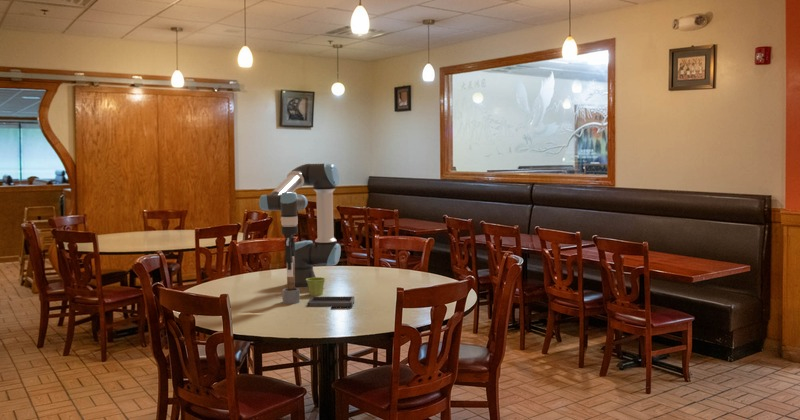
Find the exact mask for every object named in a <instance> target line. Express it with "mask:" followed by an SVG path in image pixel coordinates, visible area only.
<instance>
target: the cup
mask: <svg viewBox="0 0 800 420" xmlns="http://www.w3.org/2000/svg"><path fill="white" fill-rule="evenodd" d="M300 291H301V289H300V288H299V287H295V290H293V291H287V287H286V288H283V289H282V293H281V294H282V304H284V305H296V304H299V303H300V300H301V299H300V293H301V292H300Z"/></svg>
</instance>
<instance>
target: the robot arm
mask: <svg viewBox="0 0 800 420" xmlns="http://www.w3.org/2000/svg"><path fill="white" fill-rule="evenodd" d="M339 183H340V175H339V170H338V168H337V166H336V164H333V163H327V162H326V163H305V164H302V165H299V166H297V167H295V168H293V169H292V170H291V171H290V172H288V173H287V175H286V178H285V179H284V180H283V181H282V182H281V183H279V185H277V187H275V188H274V189H273V190H272V192H271V193H268V194H262V195H260V197H259V200H258V203H259V208H260V209H261V210H262V211H267V212H269V211H270V212H272V211H273V212H274V211H280V216H281V217H280V219H279V221H280V222H281V225H282V226H281V229H280V231H281V235H284V236H285V238H284V248H285V249H284V251H285V252H284V254H285V261H284V263H285V264H286V278H287V277H293V263H292V256H294V263H295V287H308V283H307V280H306V279H308V278H313V277H316V274H315V272H314V266H327V267H329V266H336V265H337V264H338V263H339V261H340V259H341V258H340V257H341V254H342V253H341V251H342V248H341V244H340V243H338V241H337V239H336V237H335V236H334V233H335V232H334V231H335V230H334V228H335V227H334V191H335V190H336V187H337V186H338V185H339ZM305 186H306V187H307V186H308V187H309V186H310V187H313V188H312V189H313V191H314V192H315V193H316V196H315V197H316V229H317V238H316V239H315V240H314V242H313V240H308V239H307V240H302V241H297V242H296V237H294V235H298V234H299V227H298V224H299V223H298V221H299V219H298V218H299V217H298V212H299V211H303V210H304V209H306V207H307V206H308V203H309V202H308V198H307V197H306V196H305V195H303V194H301V193H300V194H297V192H296V191H297V189H300V188H302V187H305Z"/></svg>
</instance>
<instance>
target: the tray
mask: <svg viewBox="0 0 800 420" xmlns="http://www.w3.org/2000/svg"><path fill="white" fill-rule="evenodd" d="M354 304H355V296H351V295H350V296H311V298H310V299H309V300H308V302H307V307H330V309H352V308H353V307H354Z"/></svg>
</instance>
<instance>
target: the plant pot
mask: <svg viewBox="0 0 800 420" xmlns="http://www.w3.org/2000/svg"><path fill="white" fill-rule="evenodd" d="M306 280H307V283H308V286H307V287H308V292H309V293H308V294H309V295H310V296H311V297H319V296H322V295H323V294H324V285H325V281H326V278H325V277H321V276H320V277H319V276H317V277H316V276H315V277H313V278H308V279H306Z"/></svg>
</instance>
